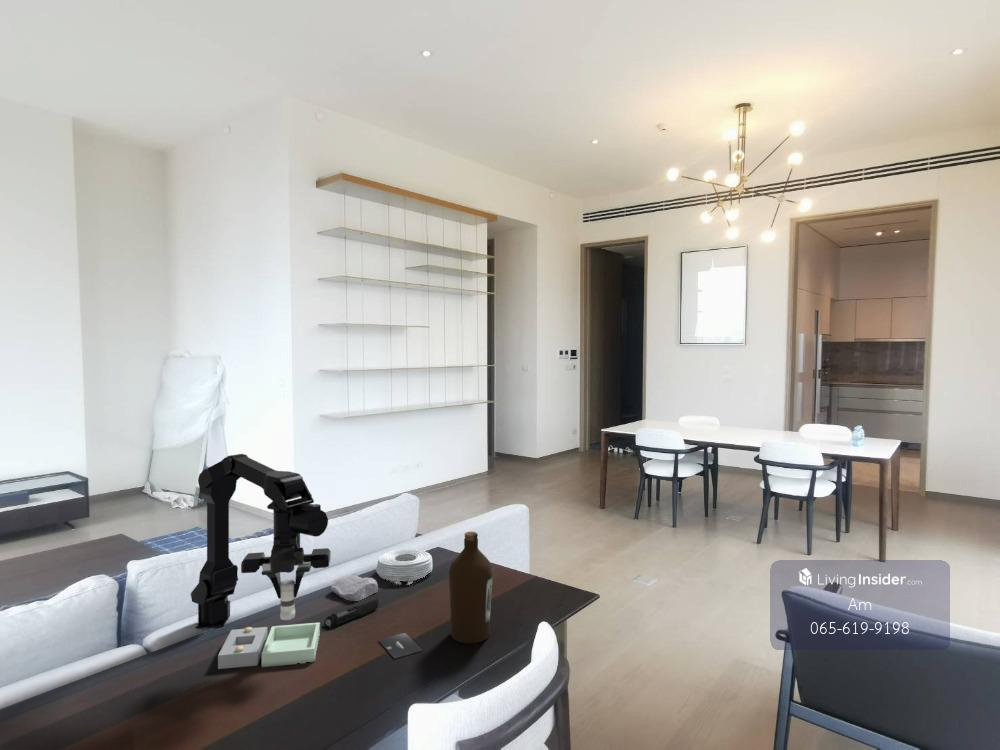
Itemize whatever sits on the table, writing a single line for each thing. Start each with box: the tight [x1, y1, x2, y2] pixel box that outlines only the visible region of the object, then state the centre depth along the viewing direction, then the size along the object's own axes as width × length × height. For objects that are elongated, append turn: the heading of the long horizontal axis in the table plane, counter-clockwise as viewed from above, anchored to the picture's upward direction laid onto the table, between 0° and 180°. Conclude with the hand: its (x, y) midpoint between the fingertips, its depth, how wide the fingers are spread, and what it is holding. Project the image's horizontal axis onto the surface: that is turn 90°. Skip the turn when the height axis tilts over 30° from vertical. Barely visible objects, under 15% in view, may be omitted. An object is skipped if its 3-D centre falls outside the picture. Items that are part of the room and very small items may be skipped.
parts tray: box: [261, 622, 321, 668], centre depth 134 cm, size 11×13×3 cm
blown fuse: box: [279, 579, 296, 621], centre depth 133 cm, size 3×3×8 cm
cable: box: [375, 548, 433, 586], centre depth 181 cm, size 18×18×6 cm
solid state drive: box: [378, 632, 423, 660], centre depth 136 cm, size 7×10×1 cm
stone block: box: [330, 573, 379, 602], centre depth 166 cm, size 12×5×10 cm
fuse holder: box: [217, 626, 269, 670], centre depth 132 cm, size 8×12×4 cm, turn 12°
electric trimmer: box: [323, 598, 380, 630], centre depth 151 cm, size 4×16×3 cm, turn 139°
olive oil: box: [448, 531, 494, 644], centre depth 142 cm, size 11×11×25 cm
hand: (287, 597), depth 133 cm, fingers closed on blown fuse, 3 cm apart
